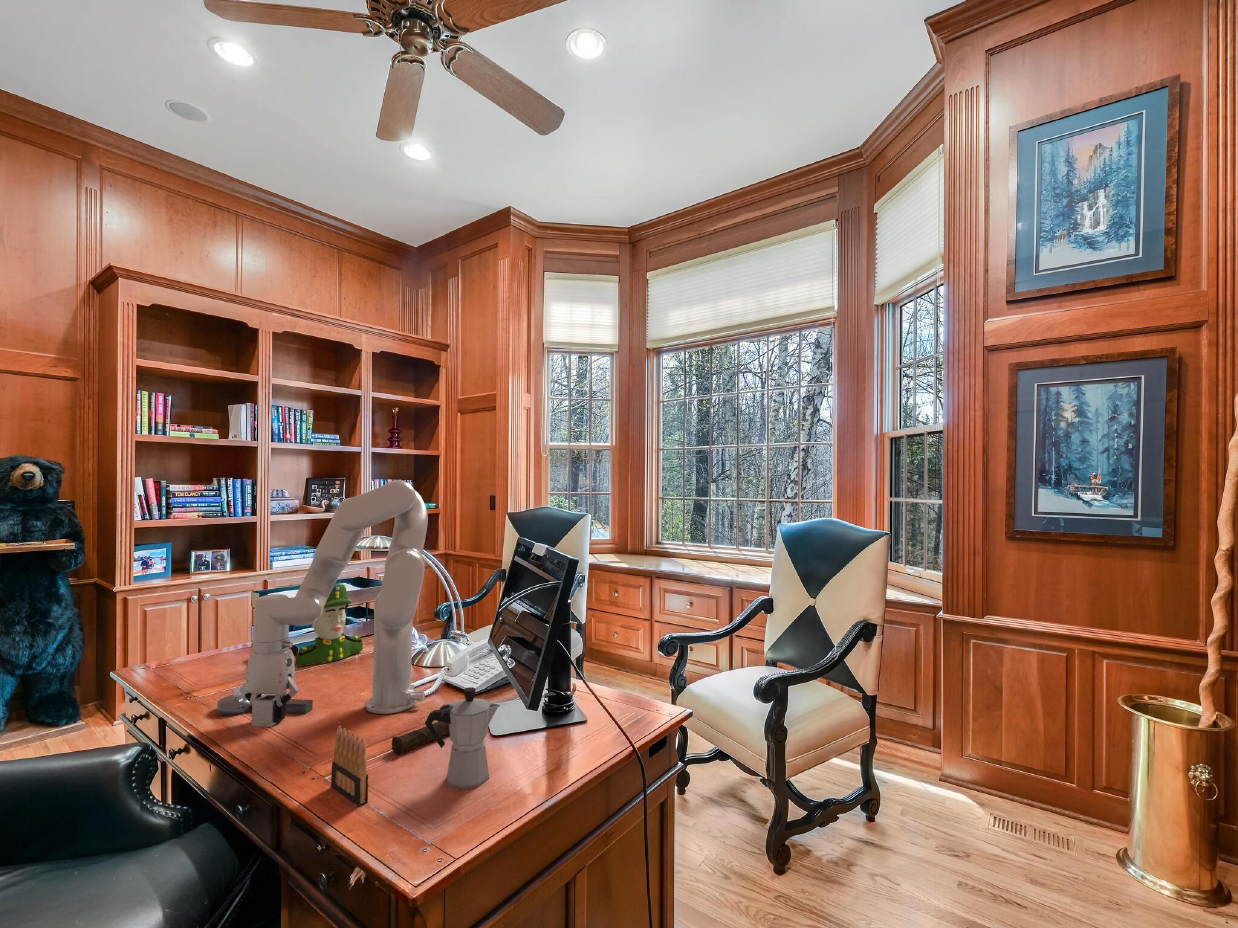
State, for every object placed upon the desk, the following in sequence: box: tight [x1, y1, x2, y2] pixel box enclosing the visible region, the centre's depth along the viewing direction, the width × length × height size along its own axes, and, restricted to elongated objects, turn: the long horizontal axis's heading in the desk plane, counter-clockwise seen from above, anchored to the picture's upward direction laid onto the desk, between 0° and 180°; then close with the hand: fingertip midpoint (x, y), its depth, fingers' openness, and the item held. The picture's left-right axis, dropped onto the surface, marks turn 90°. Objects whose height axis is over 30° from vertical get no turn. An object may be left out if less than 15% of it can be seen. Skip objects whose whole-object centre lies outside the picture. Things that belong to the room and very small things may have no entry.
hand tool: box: [391, 721, 450, 756], centre depth 132 cm, size 19×4×5 cm, turn 140°
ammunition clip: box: [330, 724, 369, 807], centre depth 109 cm, size 11×2×12 cm, turn 52°
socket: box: [251, 694, 282, 728], centre depth 140 cm, size 5×5×6 cm
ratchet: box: [216, 685, 314, 717], centre depth 148 cm, size 24×9×6 cm, turn 87°
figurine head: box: [294, 583, 364, 667], centre depth 189 cm, size 22×12×25 cm, turn 143°
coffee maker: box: [424, 686, 501, 790], centre depth 115 cm, size 15×9×18 cm, turn 112°
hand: (268, 719), depth 140 cm, fingers closed on socket, 5 cm apart
